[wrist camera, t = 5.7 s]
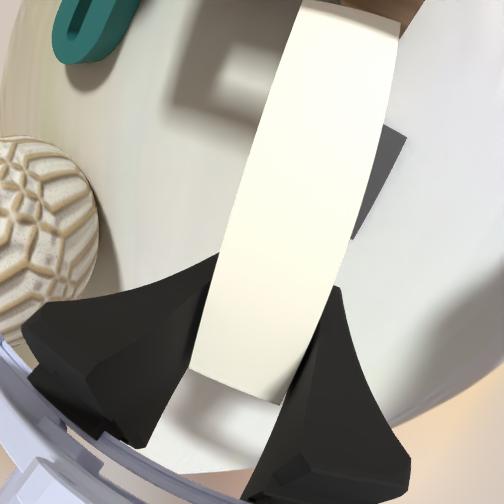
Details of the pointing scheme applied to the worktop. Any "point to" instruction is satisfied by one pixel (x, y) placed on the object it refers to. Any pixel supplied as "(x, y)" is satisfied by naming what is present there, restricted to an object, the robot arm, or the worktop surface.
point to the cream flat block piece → (297, 198)
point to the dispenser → (388, 9)
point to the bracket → (90, 28)
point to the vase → (42, 230)
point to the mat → (379, 170)
